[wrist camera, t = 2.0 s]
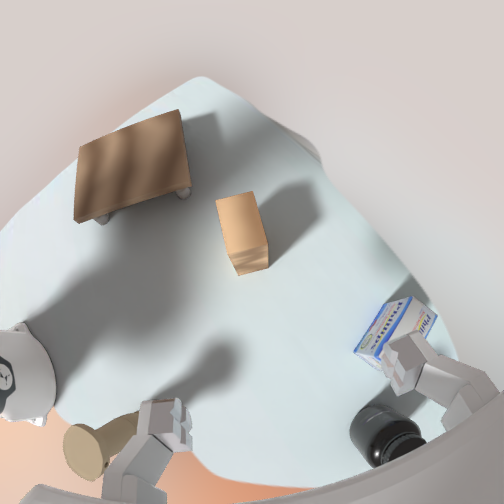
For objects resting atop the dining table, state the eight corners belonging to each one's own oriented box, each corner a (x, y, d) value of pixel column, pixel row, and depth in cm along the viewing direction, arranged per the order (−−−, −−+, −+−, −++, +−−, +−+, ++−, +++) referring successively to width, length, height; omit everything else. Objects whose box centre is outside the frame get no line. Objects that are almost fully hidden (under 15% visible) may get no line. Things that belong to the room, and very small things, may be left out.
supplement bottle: (369, 394, 31) (409, 416, 20) (402, 415, 30) (448, 439, 18) (337, 435, 30) (364, 473, 18) (372, 454, 28) (407, 491, 17)
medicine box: (383, 303, 35) (412, 293, 26) (406, 320, 34) (440, 315, 25) (351, 352, 33) (375, 357, 25) (376, 370, 32) (404, 378, 24)
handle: (123, 431, 31) (61, 463, 17) (132, 395, 33) (66, 417, 18) (153, 445, 30) (99, 488, 16) (162, 409, 32) (106, 443, 18)
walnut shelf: (94, 234, 40) (73, 220, 34) (95, 165, 44) (79, 147, 38) (199, 201, 40) (189, 180, 35) (187, 132, 44) (178, 109, 39)
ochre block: (238, 275, 37) (227, 254, 27) (228, 233, 39) (215, 200, 29) (268, 268, 37) (268, 243, 27) (256, 226, 39) (252, 190, 29)
